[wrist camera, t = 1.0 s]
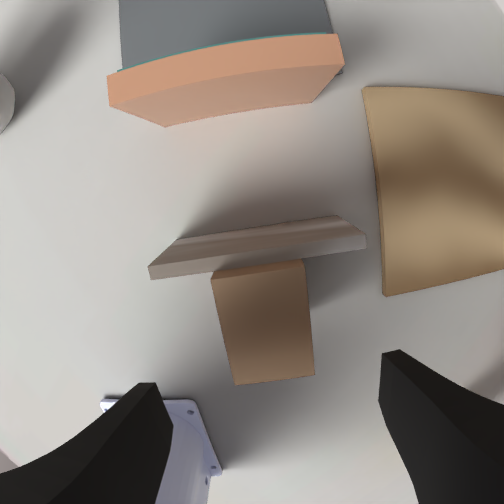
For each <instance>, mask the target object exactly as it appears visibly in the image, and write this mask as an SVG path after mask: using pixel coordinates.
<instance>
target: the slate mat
mask: <svg viewBox="0 0 504 504" xmlns="http://www.w3.org/2000/svg"><path fill="white" fill-rule="evenodd" d="M119 18H120V39H121V54H122V67H123V68H126V67H129V66H132V65H135V64H139V63H142V62H145V61H149V60H152V59H155V58H159V57H163V56H166V55H170V54H174V53H178V52H182V51H186V50H191V49H195V48H200V47H204V46H209V45H214V44H220V43H225V42H231V41H237V40H244V39H251V38H258V37H267V36H276V35H287V34H300V33H320V32H326V34H333V32H332V28H331V24H330V21H329V17H328V13H327V10H326V6H325V3H324V0H119ZM337 74H342V69H340V71H339V72H338V73H337Z"/></svg>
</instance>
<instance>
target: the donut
mask: <svg viewBox="0 0 504 504" xmlns="http://www.w3.org/2000/svg"><path fill="white" fill-rule="evenodd" d="M14 106H15V92H14V89H13V87H12V86H11V84H10V83H9V81H8V80H7V78H6V77H5V76H4V75H2V74H1V73H0V134H1V133H2V132H3V130H4V129H5V128H6V126H7V125H8V123H9V122H10V120H11V119H12V116H13V113H14Z"/></svg>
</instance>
